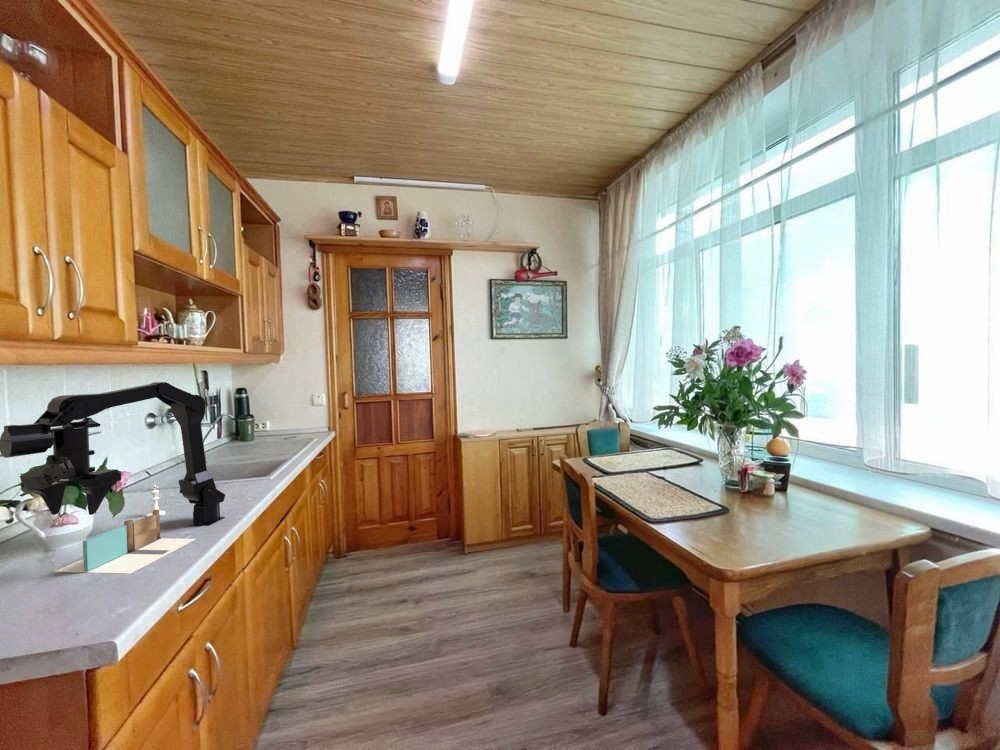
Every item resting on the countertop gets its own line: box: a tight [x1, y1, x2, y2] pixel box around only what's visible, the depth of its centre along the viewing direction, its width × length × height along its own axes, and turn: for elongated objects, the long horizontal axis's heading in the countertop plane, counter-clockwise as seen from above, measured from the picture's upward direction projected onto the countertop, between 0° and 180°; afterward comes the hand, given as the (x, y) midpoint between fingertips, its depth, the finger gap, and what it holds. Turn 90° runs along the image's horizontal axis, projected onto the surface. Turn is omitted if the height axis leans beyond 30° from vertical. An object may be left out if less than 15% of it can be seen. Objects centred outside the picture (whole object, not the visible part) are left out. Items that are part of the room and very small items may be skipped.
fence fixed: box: [123, 508, 161, 553], centre depth 105 cm, size 9×2×8 cm, turn 176°
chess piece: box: [145, 484, 166, 517], centre depth 127 cm, size 5×5×10 cm
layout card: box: [54, 537, 196, 574], centre depth 100 cm, size 18×19×1 cm
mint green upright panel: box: [82, 524, 127, 571], centre depth 96 cm, size 9×1×7 cm, turn 176°
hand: (73, 514), depth 93 cm, fingers open, 9 cm apart
